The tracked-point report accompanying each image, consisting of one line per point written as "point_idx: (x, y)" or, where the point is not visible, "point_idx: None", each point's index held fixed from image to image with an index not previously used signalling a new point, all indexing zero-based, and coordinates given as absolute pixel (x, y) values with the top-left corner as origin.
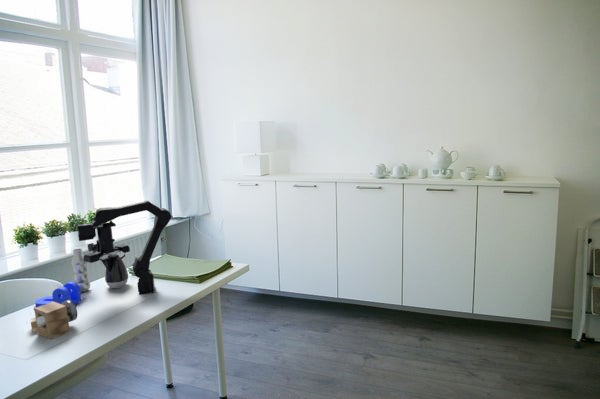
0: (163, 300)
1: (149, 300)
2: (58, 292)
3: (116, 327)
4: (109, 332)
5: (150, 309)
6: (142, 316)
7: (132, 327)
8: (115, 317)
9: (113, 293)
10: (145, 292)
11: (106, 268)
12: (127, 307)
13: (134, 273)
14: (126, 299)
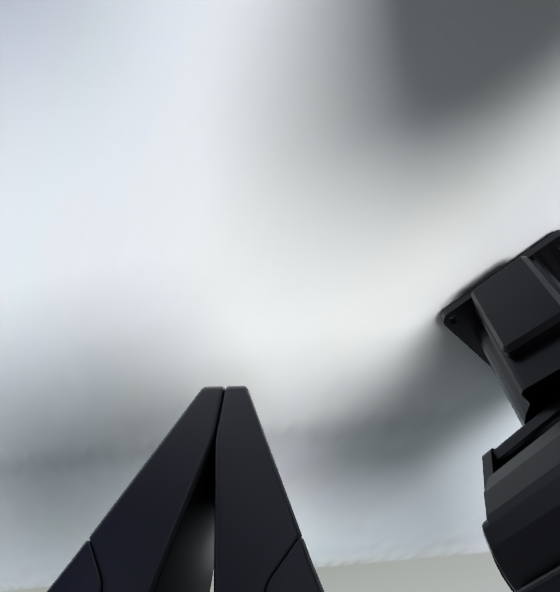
0: (414, 498)
1: (378, 444)
2: None
3: (53, 544)
4: (10, 554)
5: None
6: None
7: None
8: (93, 473)
9: (358, 19)
10: (480, 347)
11: (152, 470)
12: None
13: (495, 510)
14: (309, 308)
